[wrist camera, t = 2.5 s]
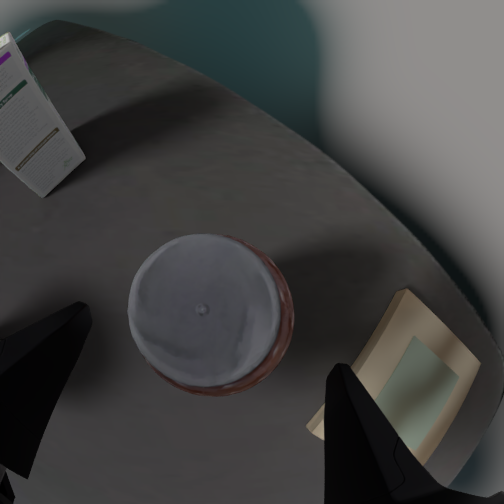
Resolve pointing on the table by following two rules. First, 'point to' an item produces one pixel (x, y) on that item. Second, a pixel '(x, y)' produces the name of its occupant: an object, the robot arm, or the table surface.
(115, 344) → the table surface
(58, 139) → the syrup box
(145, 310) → the supplement bottle
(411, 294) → the board
